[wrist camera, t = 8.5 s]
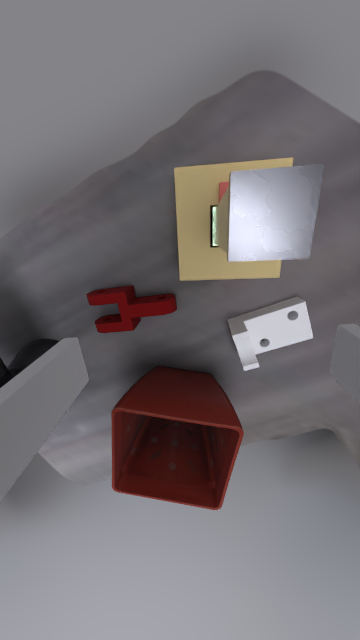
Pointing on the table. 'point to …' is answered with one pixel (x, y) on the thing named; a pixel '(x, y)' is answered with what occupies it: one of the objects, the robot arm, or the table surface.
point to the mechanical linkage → (129, 307)
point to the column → (268, 213)
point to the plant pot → (175, 439)
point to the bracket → (269, 329)
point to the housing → (194, 222)
